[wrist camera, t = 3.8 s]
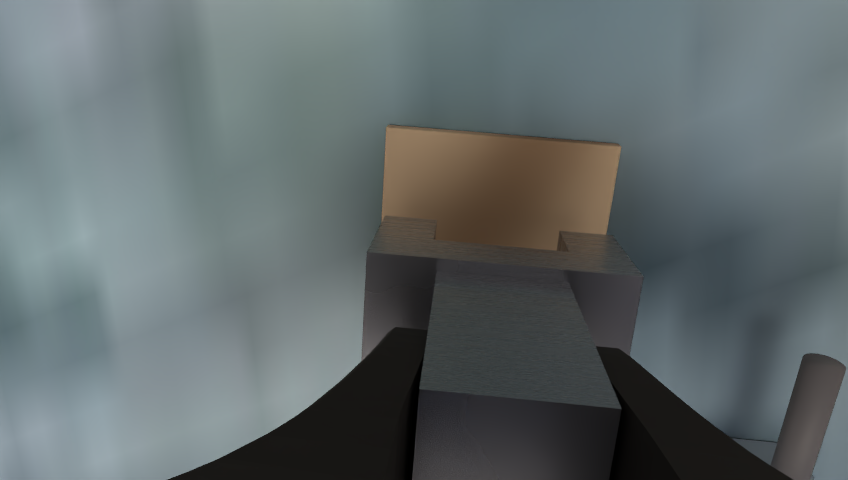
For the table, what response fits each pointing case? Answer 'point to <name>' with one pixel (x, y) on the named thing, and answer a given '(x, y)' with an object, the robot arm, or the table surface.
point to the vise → (803, 419)
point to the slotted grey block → (506, 348)
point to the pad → (499, 185)
